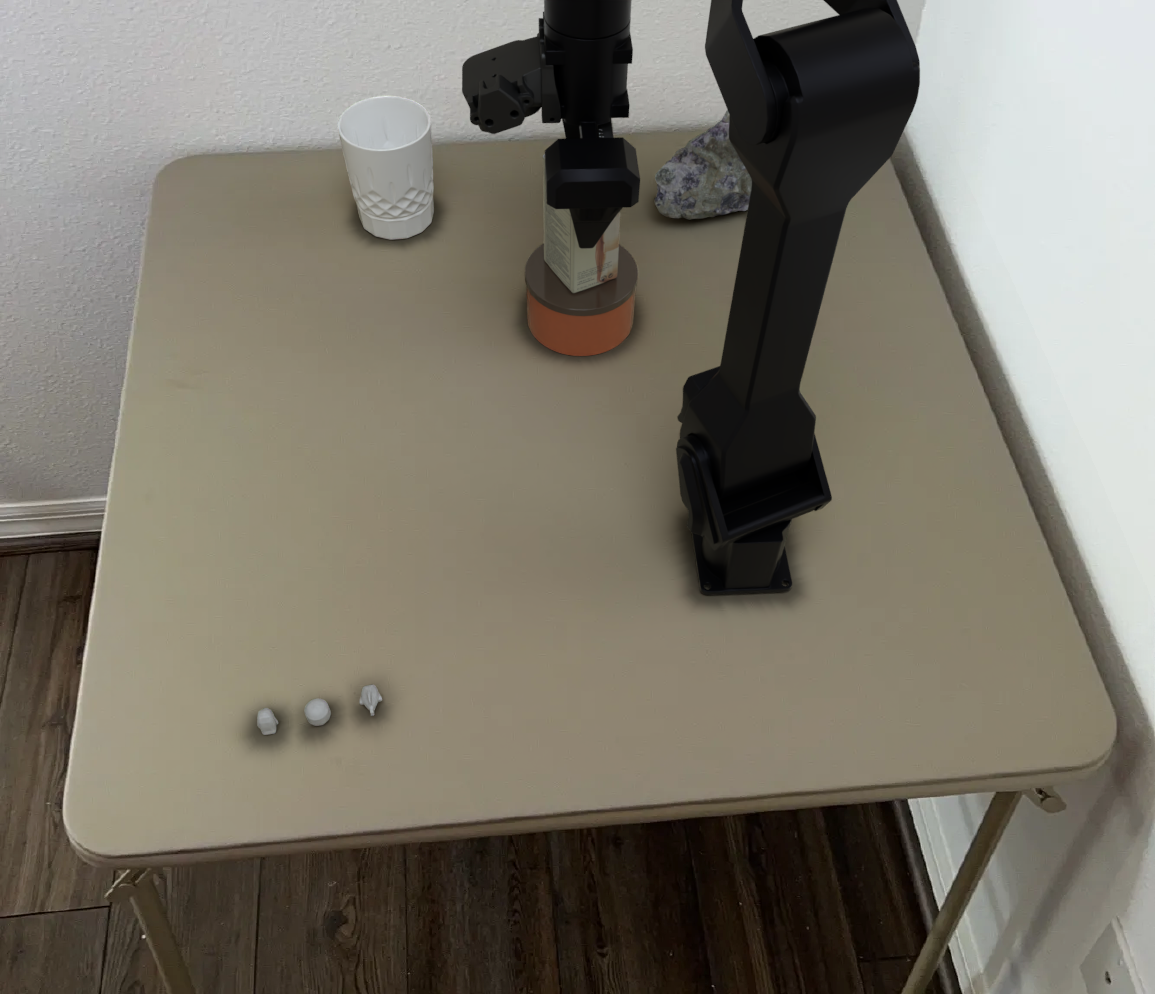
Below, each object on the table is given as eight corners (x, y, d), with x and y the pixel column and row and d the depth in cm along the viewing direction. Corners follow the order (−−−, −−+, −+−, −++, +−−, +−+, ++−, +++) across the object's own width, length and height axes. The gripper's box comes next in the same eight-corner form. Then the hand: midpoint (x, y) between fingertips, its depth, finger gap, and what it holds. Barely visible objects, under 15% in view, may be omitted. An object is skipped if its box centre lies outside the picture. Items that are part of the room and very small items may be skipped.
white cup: (339, 234, 102) (321, 139, 94) (374, 182, 107) (359, 88, 99) (421, 252, 101) (409, 158, 93) (452, 199, 105) (444, 104, 97)
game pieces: (381, 688, 75) (377, 674, 73) (385, 717, 73) (381, 703, 72) (258, 711, 73) (251, 697, 72) (259, 740, 72) (253, 727, 71)
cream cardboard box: (619, 278, 91) (625, 175, 83) (572, 296, 90) (573, 192, 82) (588, 241, 94) (591, 137, 86) (541, 257, 93) (540, 154, 85)
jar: (639, 355, 93) (643, 308, 89) (527, 359, 93) (526, 311, 89) (629, 280, 99) (632, 232, 95) (524, 283, 99) (523, 235, 94)
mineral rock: (652, 231, 103) (660, 137, 95) (647, 159, 109) (654, 64, 101) (793, 233, 103) (813, 138, 95) (780, 160, 110) (798, 66, 102)
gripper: (465, -54, 80) (477, 136, 92) (464, 101, 68) (478, 294, 81) (622, -56, 80) (613, 133, 93) (647, 98, 69) (633, 289, 81)
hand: (582, 207), depth 87 cm, fingers open, 9 cm apart
